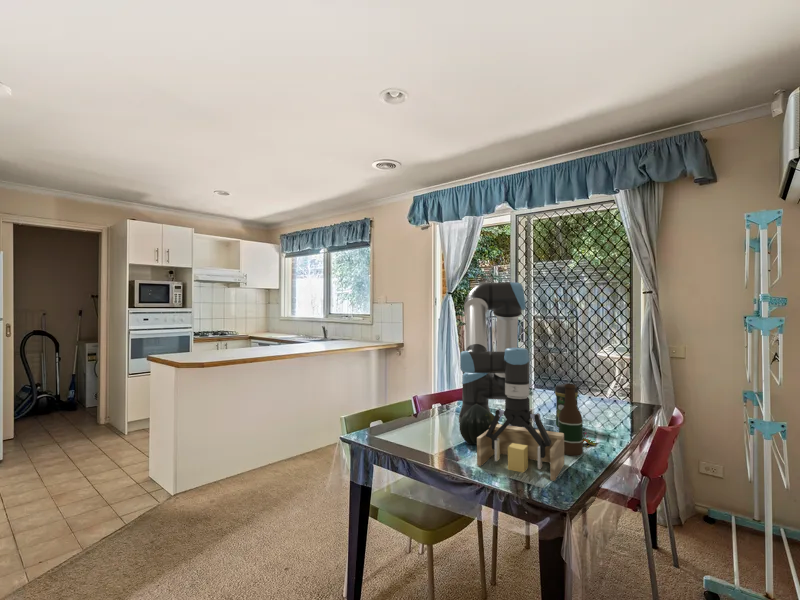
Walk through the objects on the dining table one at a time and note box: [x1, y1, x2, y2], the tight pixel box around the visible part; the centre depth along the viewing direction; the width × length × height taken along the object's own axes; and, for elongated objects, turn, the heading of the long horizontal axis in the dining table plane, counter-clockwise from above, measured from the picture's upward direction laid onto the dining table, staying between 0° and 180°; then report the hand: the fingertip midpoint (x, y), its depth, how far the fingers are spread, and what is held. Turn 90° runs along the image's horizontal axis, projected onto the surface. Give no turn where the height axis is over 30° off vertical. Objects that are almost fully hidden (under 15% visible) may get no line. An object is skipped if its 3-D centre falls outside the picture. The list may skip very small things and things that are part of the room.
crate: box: [476, 423, 565, 482], centre depth 135 cm, size 24×16×10 cm, turn 59°
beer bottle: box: [558, 383, 584, 457], centre depth 147 cm, size 8×8×24 cm
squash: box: [459, 404, 500, 445], centre depth 159 cm, size 14×15×15 cm
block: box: [507, 443, 529, 473], centre depth 132 cm, size 5×5×7 cm
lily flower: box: [583, 431, 596, 448], centre depth 158 cm, size 12×12×5 cm
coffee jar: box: [554, 382, 579, 428], centre depth 181 cm, size 10×8×19 cm
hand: (518, 463), depth 132 cm, fingers open, 13 cm apart
